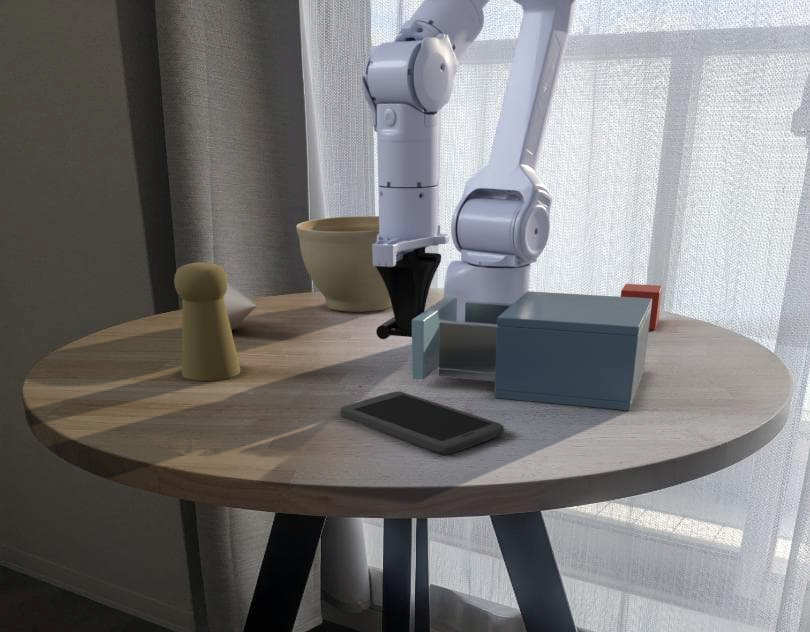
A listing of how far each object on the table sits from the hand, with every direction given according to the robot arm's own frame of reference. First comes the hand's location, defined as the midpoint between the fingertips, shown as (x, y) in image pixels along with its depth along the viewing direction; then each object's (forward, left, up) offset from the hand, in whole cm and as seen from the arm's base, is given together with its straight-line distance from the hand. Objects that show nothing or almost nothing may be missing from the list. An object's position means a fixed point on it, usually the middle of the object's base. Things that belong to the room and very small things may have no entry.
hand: (409, 328), depth 89 cm
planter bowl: (-17, +28, -5) cm, 33 cm away
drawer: (+6, 0, -3) cm, 7 cm away
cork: (-19, -7, -5) cm, 21 cm away
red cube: (+21, +28, -4) cm, 35 cm away
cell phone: (+7, -16, -4) cm, 18 cm away
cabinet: (+17, 0, -4) cm, 18 cm away
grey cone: (-26, +9, -5) cm, 28 cm away
